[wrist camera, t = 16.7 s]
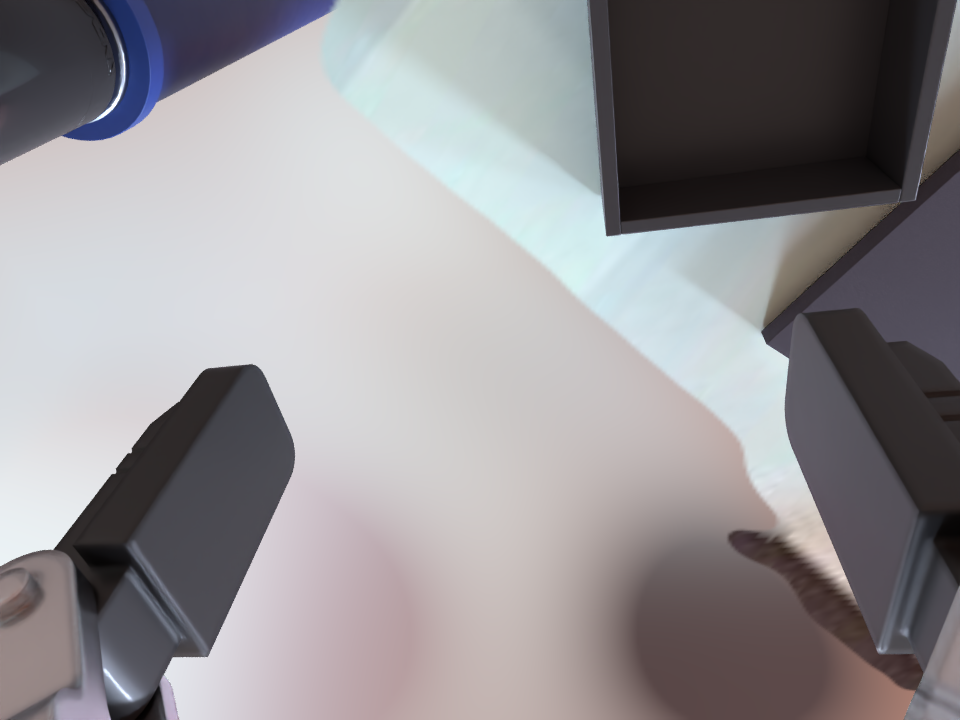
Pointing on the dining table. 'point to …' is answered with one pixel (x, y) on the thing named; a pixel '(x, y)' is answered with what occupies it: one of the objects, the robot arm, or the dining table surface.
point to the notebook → (899, 275)
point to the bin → (761, 106)
